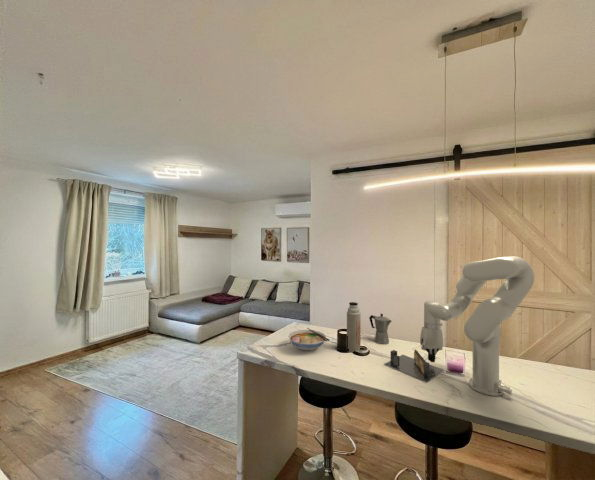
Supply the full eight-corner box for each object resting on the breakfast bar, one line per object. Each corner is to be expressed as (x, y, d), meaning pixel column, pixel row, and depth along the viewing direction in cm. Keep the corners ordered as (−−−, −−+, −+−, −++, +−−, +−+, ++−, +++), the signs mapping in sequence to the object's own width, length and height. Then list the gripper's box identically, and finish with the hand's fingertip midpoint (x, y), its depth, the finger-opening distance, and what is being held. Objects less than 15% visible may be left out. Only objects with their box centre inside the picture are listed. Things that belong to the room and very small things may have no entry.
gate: (427, 374, 124) (427, 361, 124) (423, 374, 124) (423, 361, 124) (417, 361, 138) (417, 349, 138) (414, 360, 138) (414, 349, 138)
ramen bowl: (281, 344, 163) (282, 330, 163) (313, 338, 173) (313, 325, 173) (298, 360, 140) (298, 345, 140) (334, 352, 150) (334, 338, 150)
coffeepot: (394, 342, 165) (394, 314, 165) (387, 346, 159) (387, 317, 159) (373, 336, 176) (373, 309, 176) (365, 339, 170) (365, 312, 170)
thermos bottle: (363, 350, 153) (363, 303, 153) (353, 354, 149) (353, 305, 149) (353, 346, 160) (353, 300, 160) (343, 349, 155) (344, 302, 155)
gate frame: (444, 370, 130) (443, 356, 130) (427, 382, 119) (427, 367, 119) (402, 355, 147) (402, 343, 147) (384, 364, 136) (384, 351, 136)
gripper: (441, 323, 138) (441, 357, 138) (414, 323, 137) (413, 357, 137) (450, 328, 130) (450, 364, 130) (421, 328, 130) (421, 364, 130)
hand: (431, 361), depth 134 cm, fingers closed
